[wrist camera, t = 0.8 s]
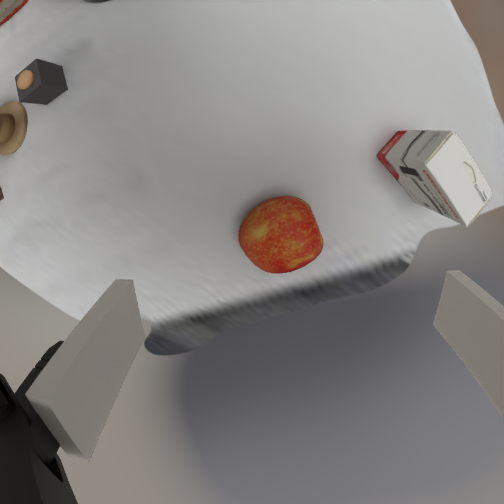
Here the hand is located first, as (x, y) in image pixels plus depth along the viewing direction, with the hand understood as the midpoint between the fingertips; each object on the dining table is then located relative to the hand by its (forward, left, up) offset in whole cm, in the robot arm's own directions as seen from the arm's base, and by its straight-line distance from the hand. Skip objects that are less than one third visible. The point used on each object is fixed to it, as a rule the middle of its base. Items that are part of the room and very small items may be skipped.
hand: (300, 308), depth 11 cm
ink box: (+1, +18, -25) cm, 31 cm away
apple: (+3, 0, -25) cm, 25 cm away
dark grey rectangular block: (-26, -21, -25) cm, 41 cm away
